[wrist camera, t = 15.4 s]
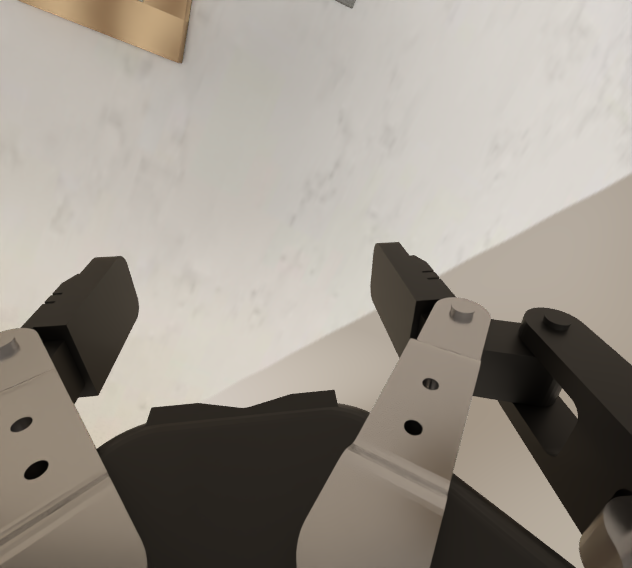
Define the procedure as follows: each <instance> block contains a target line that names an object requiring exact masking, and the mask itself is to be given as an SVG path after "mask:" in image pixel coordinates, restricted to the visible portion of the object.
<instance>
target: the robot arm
mask: <svg viewBox="0 0 632 568" xmlns="http://www.w3.org/2000/svg"><path fill="white" fill-rule="evenodd" d="M371 297H372V301H373V303H374V305H375V307H376V309H377V312H378V314H379V316H380V318H381V320H382V322H383V324H384V326H385V328H386V330H387V333H388V335H389V337H390V339H391V341H392V343H393V345H394V348H395V350H396V352H397V354H398V356H399V360H398V362H397V364H396V366H395V368H394V370H393V371H392V373H391V375H390V377H389V379H388V381H387V383H386V384H385V386H384V388H383V390H382V392H381V394H380V395H379V397H378V399H377V401H376V403H375V405H374V407H373V408H372V410H371V412H368V411H365V410H363V409H360V408H357V407H353V406H349V405H345V404H338V403H337V400H336V395H335V391H334V390H328V391H318V392H307V393H298V394H290V395H287V396H283V397H280V398H277V399H274V400H271V401H268V402H264V403H261V404H258V405H255V406H252V407H247V408H236V407H228V406H219V405H210V404H202V403H194V404H184V405H174V406H164V407H153V408H151V411H150V414H149V417H148V420H147V423H146V424H142V425H140V426H137V427H135V428H132V429H130V430H127V431H125V432H123V433H122V434H120V435H118V436H116V437H114V438H112V439H111V440H109V441H108V442H106V443H104V444H103V445H102V446H100V447H99V448H97V449H96V447H95V445H94V443H93V441H92V439H91V437H90V435H89V433H88V431H87V429H86V427H85V425H84V423H83V421H82V419H81V417H80V415H79V413H78V411H77V409H76V407H75V405H74V404H75V402H76V400H77V399H78V397H89V396H98V395H99V393H100V391H101V389H102V387H103V385H104V383H105V381H106V379H107V377H108V375H109V373H110V371H111V369H112V367H113V365H114V363H115V361H116V359H117V357H118V355H119V353H120V351H121V349H122V347H123V345H124V343H125V341H126V339H127V337H128V335H129V333H130V331H131V329H132V327H133V325H134V323H135V321H136V319H137V317H138V312H139V303H138V298H137V294H136V291H135V288H134V285H133V281H132V278H131V275H130V272H129V268H128V265H127V262H126V260H125V259H124V258H123V257H122V256H115V257H96V258H94V259H92V261H91V262H90V263H89V264H88V265H87V266H86V267H85V269H84V270H83V271H82V272H81V273H80V274H77V275H75V276H73V277H72V278H70V279H68V280H67V281H65V282H63V283H62V284H61V285H60V286H59V287H58V288H57V289H56V290H55V291H54V292H53V295H51V296H50V297H49V298H48V299H47V300H46V301H45V304H42V305H41V306H40V307H39V309H38V310H37V311H36V312H35V313H34V314H33V315H32V316H31V317H30V318H29V319H28V320H27V321H26V323H25V324H24V325H23V326H22V327H21V328H15V329H10V330H6V331H2V332H0V568H576V567H574V566H573V565H572V564H570V563H569V562H568V561H567V560H565V559H564V558H563V557H562V556H560V555H559V554H558V553H556V552H555V551H554V550H552V549H551V548H550V547H548V546H547V545H546V544H544V543H543V542H542V541H540V540H539V539H538V538H537V537H535V536H534V535H533V534H532V533H530V532H529V531H528V530H526V529H525V528H524V527H522V526H521V525H520V524H518V523H517V522H516V521H515V520H513V519H512V518H511V517H509V516H508V515H507V514H505V513H504V512H503V511H501V510H500V509H499V508H498V507H496V506H495V505H494V504H493V503H491V502H490V501H489V500H487V499H486V498H485V497H483V496H482V495H481V494H479V493H478V492H477V491H476V490H474V489H473V488H472V487H470V486H469V485H468V484H466V483H465V482H464V481H462V480H461V479H460V478H459V477H457V476H456V475H455V474H453V470H454V466H455V462H456V458H457V454H458V450H459V446H460V442H461V439H462V434H463V431H464V427H465V423H466V419H467V415H468V411H469V407H470V403H471V400H472V396H477V397H483V398H489V399H495V400H498V402H499V404H500V405H501V407H502V408H503V410H504V412H505V413H506V415H507V416H508V418H509V420H510V421H511V423H512V424H513V426H514V428H515V429H516V431H517V432H518V434H519V435H520V437H521V438H522V440H523V442H524V443H525V445H526V446H527V448H528V450H529V451H530V453H531V454H532V456H533V458H534V459H535V461H536V462H537V464H538V465H539V467H540V469H541V470H542V472H543V474H544V475H545V477H546V478H547V480H548V482H549V483H550V485H551V486H552V488H553V490H554V491H555V493H556V494H557V496H558V497H559V499H560V501H561V502H562V504H563V505H564V507H565V508H566V510H567V511H568V513H569V515H570V516H571V518H572V520H573V521H574V523H575V524H576V526H577V528H578V529H579V531H580V532H581V534H582V536H581V538H580V542H579V552H580V557H581V560H582V563H583V566H584V568H632V365H631V364H630V363H628V362H627V361H626V360H625V359H624V358H623V357H621V356H620V355H619V354H618V353H617V352H616V351H615V350H613V349H612V348H611V347H610V346H609V345H607V344H606V343H605V342H604V341H603V340H602V339H600V337H598V336H597V335H596V334H595V333H594V332H593V331H591V330H590V329H589V328H588V327H587V326H586V325H584V324H583V323H582V322H581V321H579V320H578V319H577V318H575V317H573V316H571V315H569V314H567V313H565V312H562V311H559V310H555V309H550V308H533V309H530V310H528V311H526V313H525V314H524V317H523V320H522V322H521V323H516V322H508V321H500V320H494V319H491V316H490V314H489V312H488V311H487V310H486V309H485V308H484V307H483V306H481V305H480V304H478V303H476V302H473V301H470V300H468V299H464V298H457V297H455V295H454V294H453V293H452V292H451V291H450V289H449V288H448V287H447V286H446V285H445V284H444V282H443V281H442V280H441V279H439V276H438V275H437V274H436V273H435V272H433V269H432V268H431V267H430V266H429V265H428V263H427V262H425V261H424V260H422V259H420V258H418V257H416V256H415V255H412V256H409V254H408V253H407V252H406V251H405V249H404V248H403V247H402V245H401V244H400V243H399V242H391V243H377V244H376V245H375V247H374V254H373V264H372V275H371ZM562 388H563V389H564V391H565V392H566V393H567V394H568V395H569V396H570V398H571V399H572V400H573V401H574V403H575V406H576V408H577V412H578V419H577V418H576V416H575V415H574V414H573V413H572V411H571V410H570V409H569V408H568V407H567V405H566V404H565V403H564V402H563V400H562V399H561V398H560V397H559V396H558V395H559V393H560V391H561V389H562Z"/></svg>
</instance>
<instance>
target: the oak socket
mask: <svg viewBox="0 0 632 568" xmlns="http://www.w3.org/2000/svg"><path fill="white" fill-rule="evenodd" d="M19 1H21V2H24V3H26V4H29V5H31V6H34V7H37V8H39V9H42V10H44V11H47V12H49V13H52V14H54V15H57V16H60V17H62V18H65V19H67V20H70V21H72V22H75V23H78V24H80V25H83V26H85V27H88V28H90V29H93V30H95V31H98V32H101V33H103V34H106V35H108V36H111V37H113V38H116V39H118V40H121V41H124V42H126V43H129V44H131V45H134V46H136V47H139V48H142V49H144V50H147V51H149V52H152V53H154V54H157V55H159V56H162V57H165V58H167V59H170V60H172V61H175V62H177V63H182V60H183V54H184V47H185V41H186V35H187V28H188V22H189V16H190V9H191V3H192V0H143V3H142V2H140V1H138V0H19Z"/></svg>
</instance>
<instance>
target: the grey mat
mask: <svg viewBox="0 0 632 568" xmlns="http://www.w3.org/2000/svg"><path fill="white" fill-rule="evenodd" d="M336 1H338V2H340V3H342V4H344V5H346V6H348V7H350V8H353V6H354V3H355V0H336Z"/></svg>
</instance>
